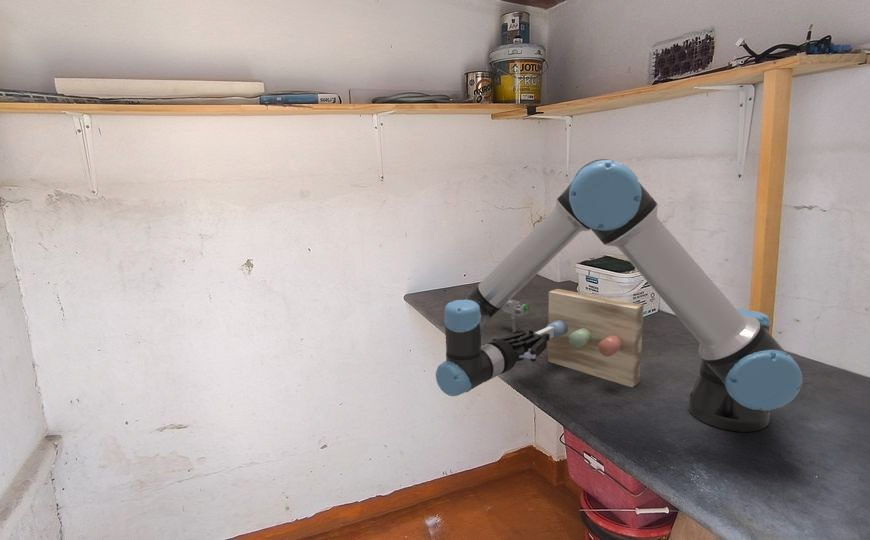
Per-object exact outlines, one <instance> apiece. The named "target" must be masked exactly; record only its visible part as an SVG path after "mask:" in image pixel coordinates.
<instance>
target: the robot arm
mask: <svg viewBox="0 0 870 540" xmlns="http://www.w3.org/2000/svg"><path fill="white" fill-rule="evenodd" d="M555 201H556V202H555V207H554V208H553V209H552V210H551V211H550V212H549V213H548V214H547V215H546V216H545V217H544V218H543V219H542V220H540V222H539V223H538V224H537V225H536V226H535V227H534V228H533V229H532V230H531V231H530V232H529V233H528V234H527V235H526V236H525V237H524V238H523V239H522V240H521V241H520V242H519V243H518V245H516V246H515V247H514V248H513V249H512V250H511V251H510V252H509V253H508V254H507V256H505V258H504V259H502V260H501V262H499V263H498V264H497V265H496V267H495V268H494V269H492V271H490V272H489V274H488V275H486V276H485V278H484V279H482V280H481V282H480V283H478V285H477V286H476V287H474V289H473V290H471V291H470V292H469V293H468V294H467V295H466V296H465V297H464V298H462V299H457V300H453V301H450V302H448V303H447V304H446V305H445V307H444V319H443V321H444V328H445V329H444V330H445V331H444V333H445V350H446V351H445V352H446V353H445V357H446V358H445V361H443V362H442V363H440V364H439V365H438V366H437V368H436V371H435V379H436V383H437V386H438V387H439V389H440V390H441V391H442V393H444V394H445V395H448V396H450V397H457V396H460V395H462V394H464V393H469V392H470V391H471V390H473V389H475V388H477V387H478V386H480V385H482V384H483V383H486V382H488V381H490V380H491V379H494V378H496V377H498V376H499V375H502V374H504V373H506V372H508V371H510V370H512V369H513V368H514V366H515V365H516V363H517V362H521V361H523V360H525V359H529V360H530V362H533V363H535V362H536V361H537V358H538V356H539V355H541V354H542V353H543V352H544V351H545V350H546V349H547V348H548V343H547V342H548V340H549V339H551V338H553V337H554V327H550V326H548V327H547V326H546V327H545V328H542V329H540V330H536V331H534V330H532V329H528V333H527V332H525V331H522V332H518V333H515V334H510V335H506V336H503V337H497V338H492V341H490V342H488V343H486V344H484V345H482V333H483V331H484V328H485V327H486V325H487V323H488V322H489V321H490V319H492V318H493V316H495V315H496V314H497V313H498V312H499V311H500V310H501V309H502V307H503V306H504V305H505V304H506V303H507V302H508V301H509V300H510V299H511V300H512V298H513V297H514V296H516V294H517V293H518V292H520V291H521V290H522V288H524V287H525V286H526V285H527V284H528V283H529V282H530V281H531V280H532V279H533V278H534V277H535V276H536V275H537V274H538V273H540V272H541V271H542V270H543V269H544V268H545V267H546V266H547V265H548V264H549V263H550V262H551V261H552V260H553V259H555V257H556V256H557V255H558V254H559V253H560V252H562V251H563V249H565V248H566V247H567V246H568V245H570V243H571V242H572V241H573V240H574V239H575V238H576V237H577V236H578V235H579V234H580V233H581V232H589V231H592V233H594V235H595V236H596V237H597V238H598V240H599V241H600V242H601V243H602V244H603V245H604V246H608V247H616V248H618V250H619V252H621V253H622V255H624V256H625V257H626V259H627V260H628V262H630V264H631V265H632V266H633V267H634V268H635V269H636V271H637V272H638V273H639V274H640V275H641V276H642V277H643V278H644V280H645V281H646V282H647V283H648V285H649V286H650V287H651V288H652V289H653V290H654V291H655V293H657V295H658V296H659V297H660V298H661V299H662V301H664V303H665V304H666V305H667V307H668V308H669V309H670V310H671V311H672V312H673V313H674V314H675V315H676V317H677V318H678V319H679V320H680V322H681V323H682V325H684V326H685V328H686V329H687V330H688V331H689V332H690V333H691V334H692V336H694V338H695V339H696V340H697V341H698V343H699V347H698V354H699V357H700V362H699V366H700V367H699V375H698V377H697V379H696V381H695V383H694V386H693V389H692V390H691V392H690V394H688V395H689V396H688V399H687V400H688V401H687V408H688V411H689V413H690V414H691V415H692V416H693V417H695V418H696V419H698V420H699V421H701V422H703V423H704V424H708V425H709V426H711V427H712V426H713V427H716V428H719V429H722V430H727V431H734V432H745V433H746V432H747V433H749V432H757V431H760V430H763V429H765V428H766V427H768V426H769V423H770V417H771V416H770V415H771V413H770V411H773V410H776V409H778V408H782V407H783V406H785V405H787V404H789V403H790V402H792V401H793V400H794V399H795V398H796V397H797V396H798V394H799V393H800V391H801V387H802V384H803V374H802V371H801V368H800V367H799V365H798V362H797V361H796V360H795V358H794V357H793V356H792V355H790V354H788V353H787V351H786V350H784V349H783V347H782V346H781V345H780V344H779V343H778V341H777V340H776V339H775V338H774V336H772V335H771V334H770V328H771V324H770V322H771V321H770V320H771V319H770V317H769V315H767V314H766V313H764V312H760V311H754V310H749V309H742V308H736V307H735V306H734V304H733V303H732V302H731V301H730V300H729V298H727V297H726V295H725V294H724V293H723V292H722V291H721V289H720V288H719V287H718V286H717V285H716V284H715V283H714V281H713V280H712V278H710V277H709V276H708V274H707V273H706V272H705V271H704V269H702V267H701V266H700V265H699V264H698V262H696V260H695V259H694V258H693V257H692V256H691V254H689V252H688V251H687V250H686V249H685V248H684V246H683V245H682V244H681V243H680V241H678V240H677V238H676V237H675V236H674V235H673V234H672V232H670V230H669V229H668V228H667V227H666V225H664V224H663V222H662V221H661V220H660V218H659V217H658V207H659V204H658V203H657V202H656V200H655V199H654V197H652V195H651V194H650V193H649V192H648V191H647V190H646V188H645V187H644V186H643V184H641V183H640V181H639V180H638V176H637V175H636V174H635V173H634V172H633V171H632V169H631V168H630V167H628V166H627V165H625V164H623V163H621V162H619V161H616V160H612V159H606V158H604V159H603V158H602V159H601V158H600V159H595V160H593V161H590V162H588V163H586V164H584V165H583V166H582V167H581V168H580V169H579V170H578V171H577V173H576V174H575V175H574V177H573V178H572V181H571V182H570V183H569V185H568V186H567V187H566V189H565V190H564V191H563V192H562V193H561V194H560V195H559V196H558V197H557V198H556V199H555Z"/></svg>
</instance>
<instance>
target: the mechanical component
mask: <svg viewBox="0 0 870 540" xmlns="http://www.w3.org/2000/svg"><path fill="white" fill-rule="evenodd" d="M501 309H502V311H503V312H504V313H507V314H510V319H511V320H512V326H511V327H512V333H516V332H518V319H520V317H522V316H525V315H527V314H528V313H529V309H530V306H529V305H528V304H527V303H524V304H520V301H519V300H514V299H512V298H511V299H510V300H509V301H508V302H507V303H506V304H505V305H504V306H503V307H502V308H501Z"/></svg>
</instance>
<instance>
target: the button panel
mask: <svg viewBox="0 0 870 540" xmlns="http://www.w3.org/2000/svg"><path fill="white" fill-rule="evenodd" d="M547 317H548V324H550V323H553V322H555V321H557V320H562V321H564V322H565V323H566V325H567V332H566V333H565V334H563V335H561V336H559V337H557V338H555V339H553V338H551V339H549V340H548V341H547V342H548V343H547V348H548V349H547V352H548V353H547V354H548V356H547V358H548V359H547V361H548V362H549V363H552V364H555V365H558V366H561V367H565V368H568V369H572V370H574V371H577V372H581V373H584V374H586V375H591V376H593V377H597V378H600V379H603V380H607V381H610V382H614V383H616V384H620V385H622V386H625V387H629V388H634V387H635V386H636V385H638V384H639V383H640V382H641V359H642V344H643V343H642V341H643V324H644V323H643V321H644V304H641V303H636V302H631V301H626V300H625V301H624V300H620V299H619V300H618V299H614V298H609V297H603V296H598V295H593V294H587V293H582V292H577V291H572V290H571V291H570V290H565V289H560V288H556V289H552V290H550V291H548V316H547ZM548 324H547V325H548ZM581 328H585V329H587V330H588V331H589V332H590V333H591V337H592V338H591V341H590V342H589V343H588V344H586V345H584V346H582V347H580V348H574V347H573V346H572V345H571V344H570V342H569V335H570V334H571V333H573V332H575V331H577V330H579V329H581ZM611 335H614V336H617V337H618V338H619V339H620V340H621V342H622V348H621V350H619V351H618V352H616V353H615V354H613V355H611V356H604V355H602V354H601V353H600V351H599V349H598V344H599V342H600V341H602V340H604V339H605V338H607V337H609V336H611ZM548 362H547V363H548Z"/></svg>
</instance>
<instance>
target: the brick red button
mask: <svg viewBox="0 0 870 540" xmlns="http://www.w3.org/2000/svg"><path fill="white" fill-rule="evenodd" d="M621 348H622V342H621V340H620V339H619V338H618V337H617V336H614V335H611V336H609V337H607V338H605V339H604V340H602V341H600V342H599V344H598V349H599V351H600V353H601V354H602V355H604V356H611V355H613V354H615V353H616V352H618V351H619V350H621Z"/></svg>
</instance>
